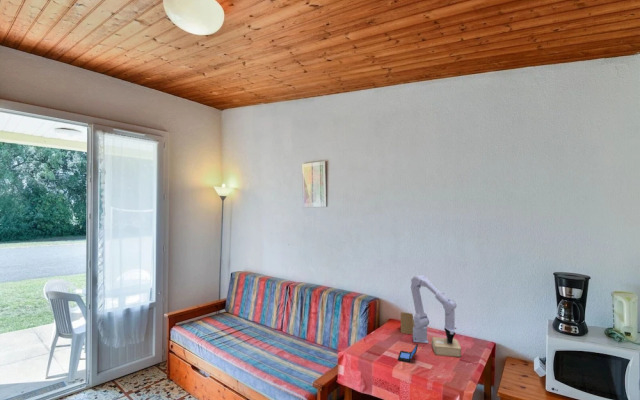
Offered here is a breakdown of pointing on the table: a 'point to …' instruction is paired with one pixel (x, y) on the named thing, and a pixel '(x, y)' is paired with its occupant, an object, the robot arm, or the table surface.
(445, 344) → the carton lid
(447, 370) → the table surface
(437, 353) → the carton
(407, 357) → the handheld game console
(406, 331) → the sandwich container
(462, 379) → the table surface
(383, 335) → the table surface
